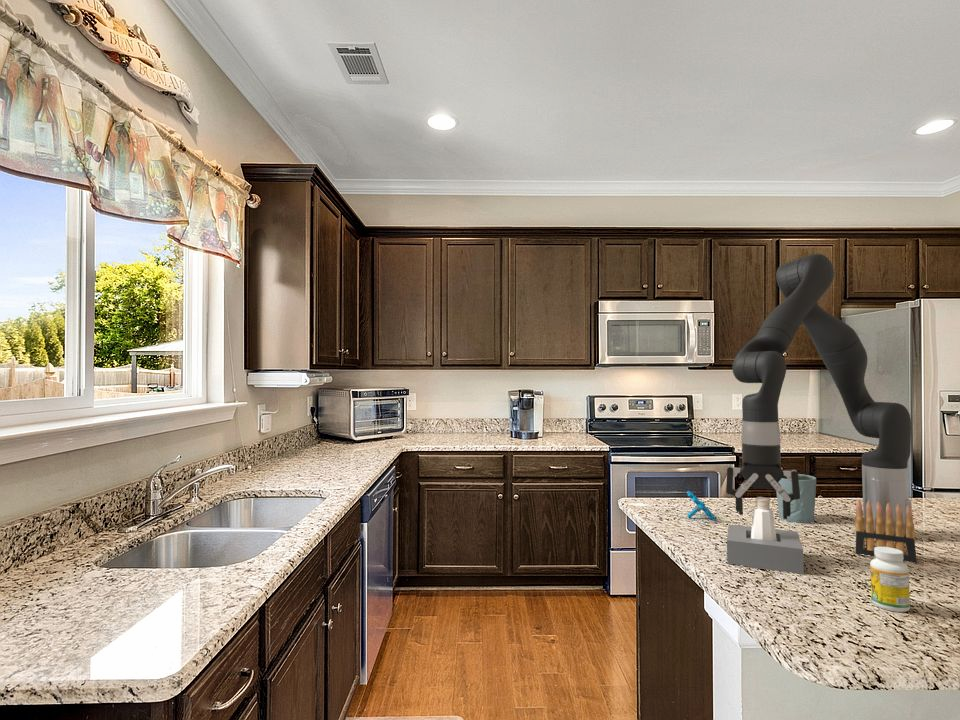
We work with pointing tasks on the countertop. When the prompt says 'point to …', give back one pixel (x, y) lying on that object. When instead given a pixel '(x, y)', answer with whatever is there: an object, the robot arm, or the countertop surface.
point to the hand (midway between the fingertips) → (762, 516)
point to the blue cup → (805, 505)
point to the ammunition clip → (888, 538)
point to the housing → (765, 550)
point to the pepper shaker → (763, 521)
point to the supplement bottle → (889, 580)
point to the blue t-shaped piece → (699, 507)
